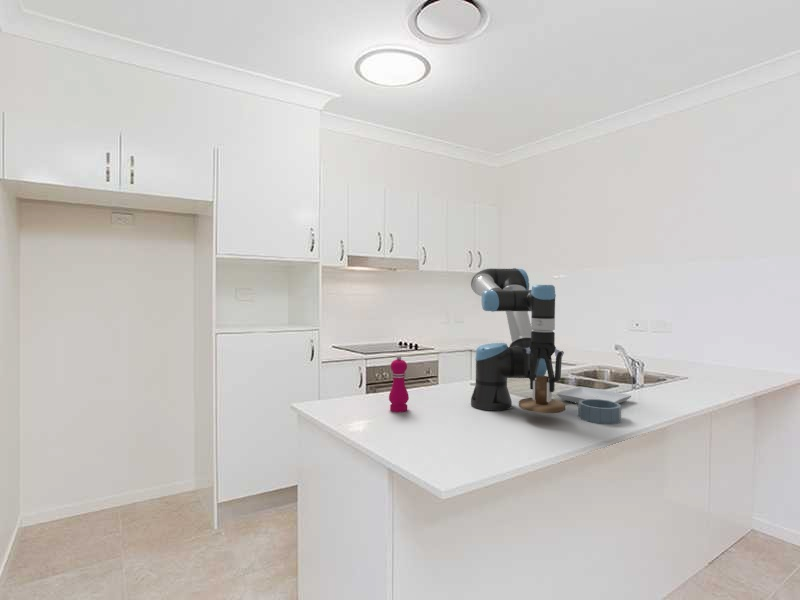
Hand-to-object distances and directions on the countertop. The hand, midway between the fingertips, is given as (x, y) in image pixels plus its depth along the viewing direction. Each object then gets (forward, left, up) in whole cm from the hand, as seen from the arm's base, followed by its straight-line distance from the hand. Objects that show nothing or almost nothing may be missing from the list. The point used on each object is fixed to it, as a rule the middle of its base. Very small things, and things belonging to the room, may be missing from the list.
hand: (542, 400), depth 153 cm
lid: (0, 0, -2) cm, 2 cm away
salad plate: (+8, +38, -7) cm, 39 cm away
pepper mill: (-47, -17, -7) cm, 50 cm away
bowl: (+15, +14, -7) cm, 22 cm away
